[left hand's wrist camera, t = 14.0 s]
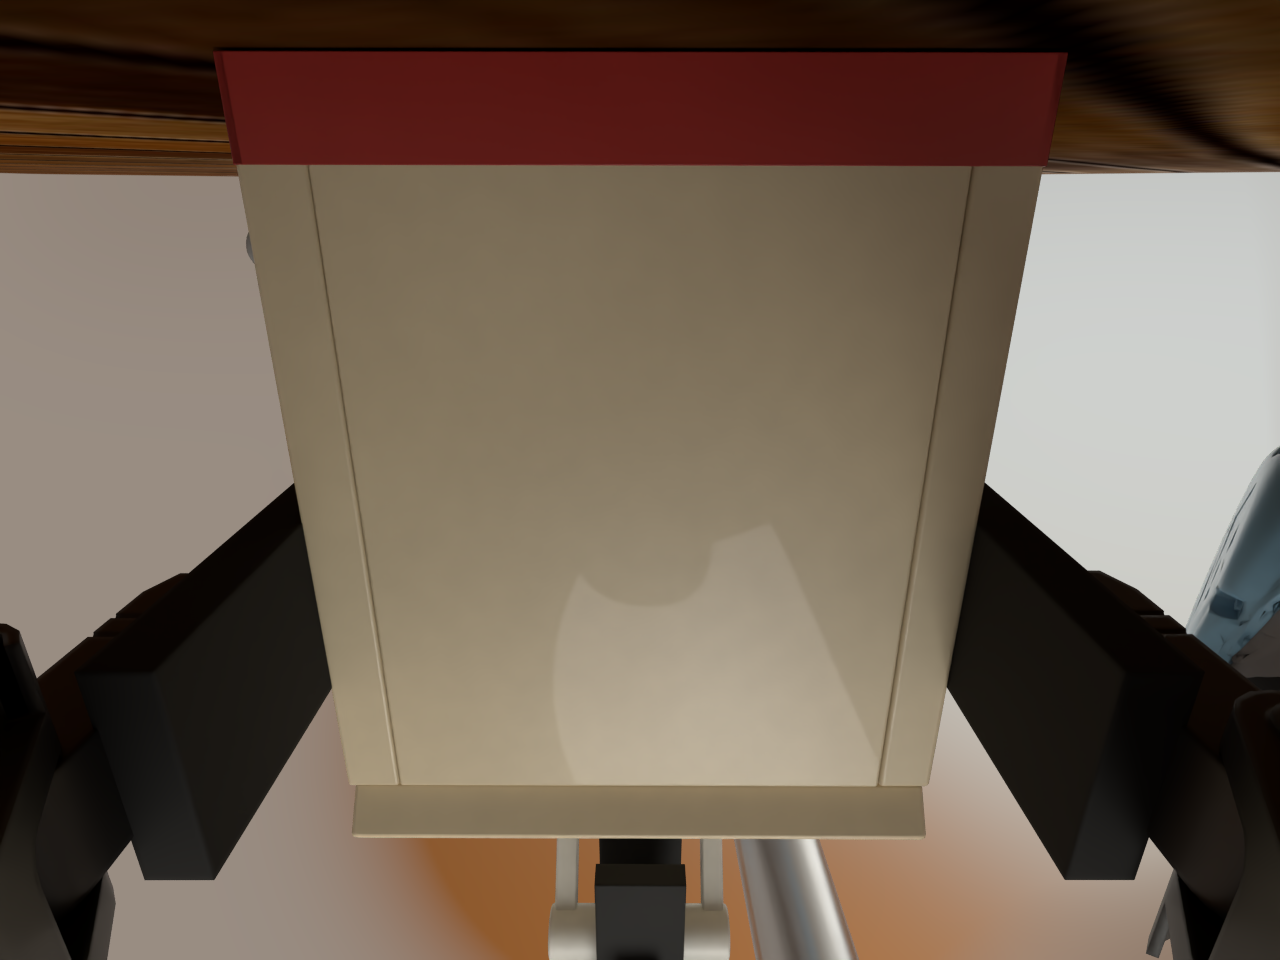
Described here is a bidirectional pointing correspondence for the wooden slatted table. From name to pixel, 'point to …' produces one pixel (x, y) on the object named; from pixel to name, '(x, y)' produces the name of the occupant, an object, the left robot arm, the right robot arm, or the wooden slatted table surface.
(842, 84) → the chest
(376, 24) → the wooden slatted table surface
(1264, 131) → the wooden slatted table surface
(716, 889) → the lid
